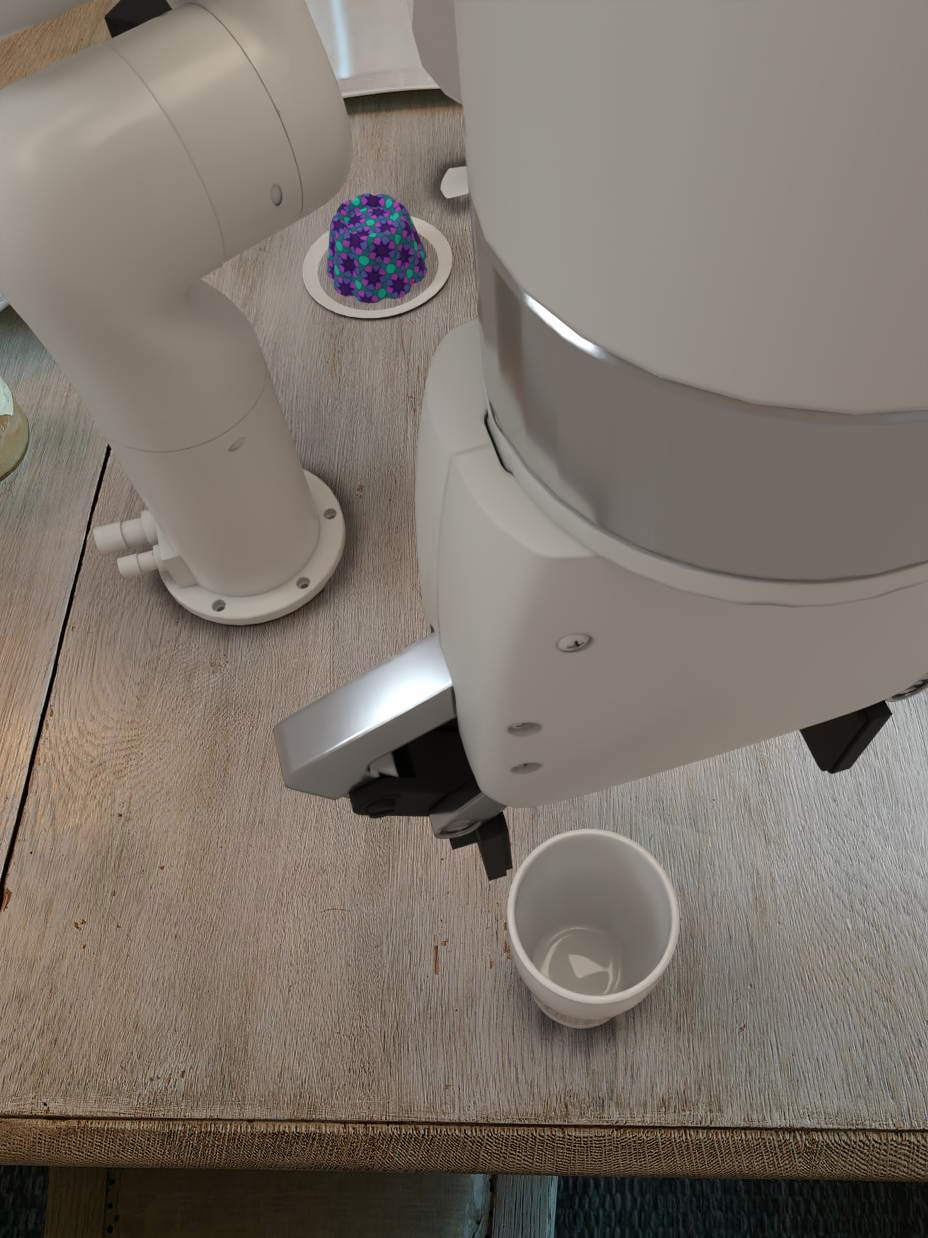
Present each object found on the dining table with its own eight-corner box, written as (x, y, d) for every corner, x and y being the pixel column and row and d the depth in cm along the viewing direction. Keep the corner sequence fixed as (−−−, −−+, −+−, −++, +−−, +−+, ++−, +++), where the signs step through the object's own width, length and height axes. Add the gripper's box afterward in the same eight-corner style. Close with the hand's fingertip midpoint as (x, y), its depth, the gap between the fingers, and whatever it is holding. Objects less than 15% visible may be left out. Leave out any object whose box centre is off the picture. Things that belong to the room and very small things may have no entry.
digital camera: (254, 76, 91) (234, -1, 84) (226, 110, 88) (203, 33, 82) (161, 58, 93) (135, -18, 87) (132, 91, 91) (103, 14, 85)
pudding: (476, 295, 74) (472, 239, 70) (330, 344, 73) (316, 290, 68) (422, 204, 80) (415, 146, 76) (286, 247, 79) (271, 191, 74)
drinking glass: (635, 905, 51) (669, 820, 38) (652, 1042, 48) (695, 1002, 35) (509, 911, 52) (500, 829, 38) (517, 1048, 48) (509, 1010, 35)
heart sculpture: (604, 146, 82) (620, -92, 66) (616, 183, 80) (636, -54, 64) (426, 171, 82) (400, -60, 66) (432, 209, 80) (406, -22, 64)
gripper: (1205, -18, 14) (869, 581, 29) (67, 268, 13) (321, 744, 28) (1648, 315, 11) (1006, 808, 26) (124, 762, 9) (382, 1007, 24)
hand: (648, 774), depth 27 cm, fingers open, 9 cm apart
